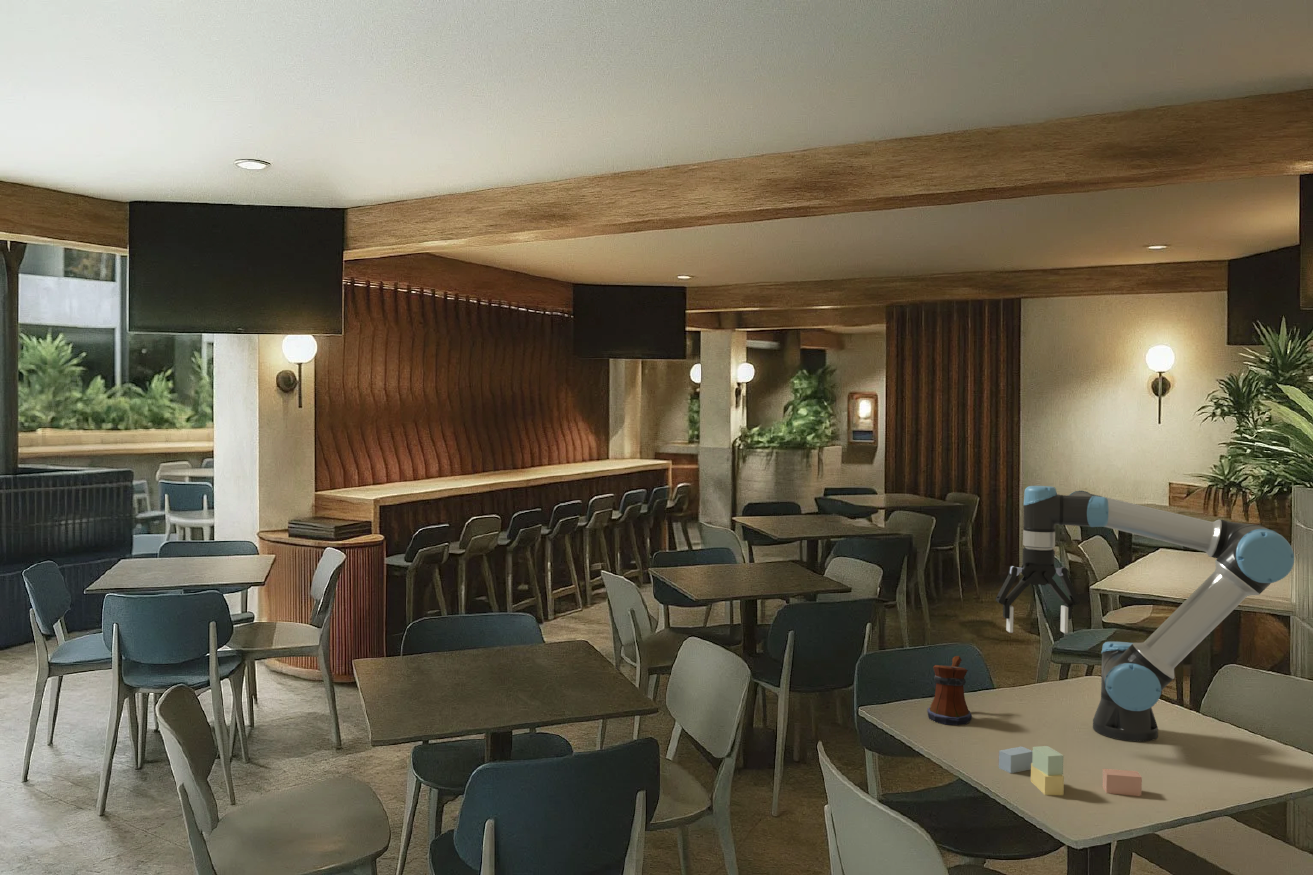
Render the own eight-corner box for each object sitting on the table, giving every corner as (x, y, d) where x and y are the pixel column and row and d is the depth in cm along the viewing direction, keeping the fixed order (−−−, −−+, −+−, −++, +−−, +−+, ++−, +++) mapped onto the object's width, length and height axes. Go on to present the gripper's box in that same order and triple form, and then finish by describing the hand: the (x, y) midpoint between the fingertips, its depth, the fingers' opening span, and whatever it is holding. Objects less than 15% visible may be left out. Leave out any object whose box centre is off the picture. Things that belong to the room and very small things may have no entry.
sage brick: (1032, 765, 220) (1032, 746, 220) (1047, 764, 221) (1047, 745, 221) (1047, 775, 214) (1048, 756, 214) (1063, 774, 215) (1063, 755, 215)
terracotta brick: (1136, 790, 218) (1137, 771, 218) (1141, 796, 214) (1141, 777, 214) (1102, 787, 219) (1102, 768, 219) (1106, 793, 216) (1106, 774, 215)
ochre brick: (1030, 781, 222) (1031, 762, 222) (1048, 781, 222) (1049, 763, 222) (1044, 795, 214) (1045, 776, 214) (1063, 795, 214) (1063, 776, 214)
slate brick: (1021, 764, 233) (1021, 746, 233) (1033, 769, 230) (1033, 751, 230) (998, 768, 230) (999, 750, 230) (1010, 773, 227) (1010, 755, 227)
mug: (935, 703, 279) (936, 650, 279) (978, 709, 274) (979, 655, 274) (923, 721, 263) (924, 665, 263) (968, 728, 258) (969, 670, 258)
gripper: (1082, 546, 254) (1080, 629, 254) (984, 544, 254) (982, 627, 255) (1095, 550, 246) (1093, 635, 247) (993, 549, 247) (991, 634, 247)
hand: (1036, 631), depth 251 cm, fingers open, 13 cm apart
